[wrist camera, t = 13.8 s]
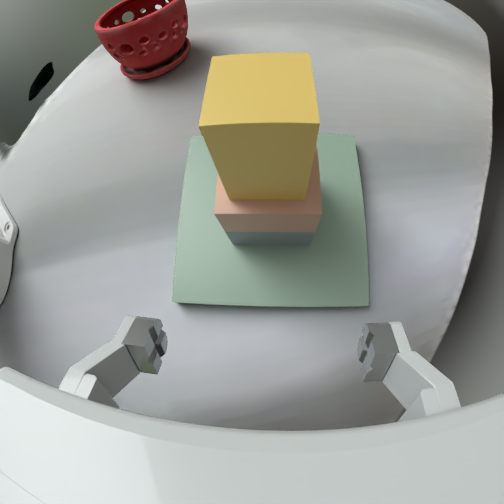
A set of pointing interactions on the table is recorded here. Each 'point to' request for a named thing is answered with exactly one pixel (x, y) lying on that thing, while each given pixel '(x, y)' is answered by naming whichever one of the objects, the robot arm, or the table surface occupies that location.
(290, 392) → the table surface
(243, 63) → the mustard brick
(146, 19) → the plant pot
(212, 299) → the baseplate tower
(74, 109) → the table surface
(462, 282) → the table surface
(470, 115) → the table surface
